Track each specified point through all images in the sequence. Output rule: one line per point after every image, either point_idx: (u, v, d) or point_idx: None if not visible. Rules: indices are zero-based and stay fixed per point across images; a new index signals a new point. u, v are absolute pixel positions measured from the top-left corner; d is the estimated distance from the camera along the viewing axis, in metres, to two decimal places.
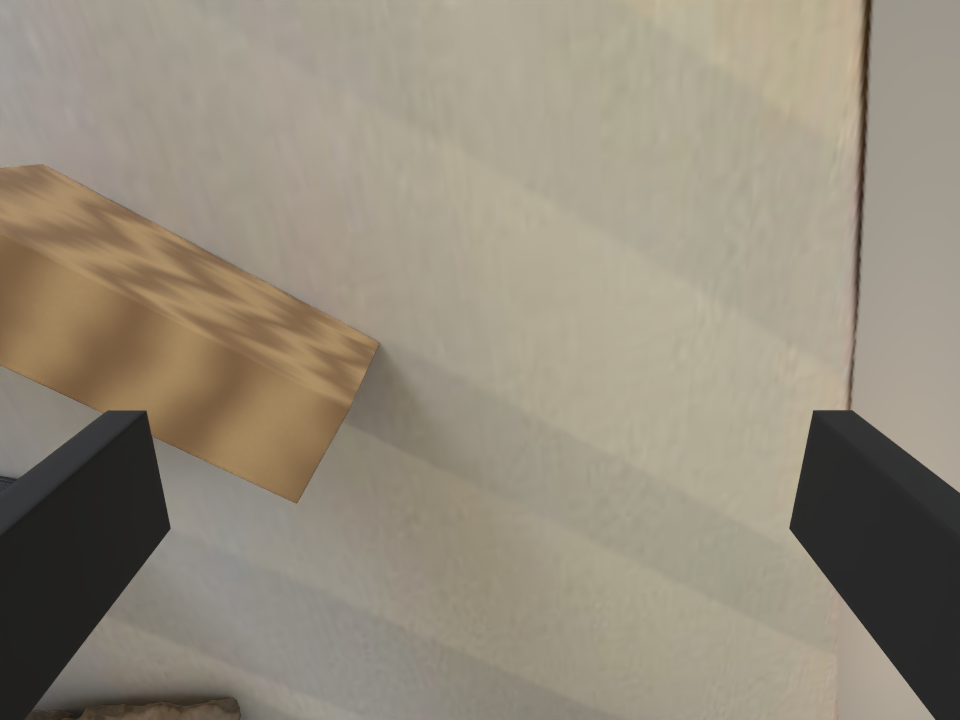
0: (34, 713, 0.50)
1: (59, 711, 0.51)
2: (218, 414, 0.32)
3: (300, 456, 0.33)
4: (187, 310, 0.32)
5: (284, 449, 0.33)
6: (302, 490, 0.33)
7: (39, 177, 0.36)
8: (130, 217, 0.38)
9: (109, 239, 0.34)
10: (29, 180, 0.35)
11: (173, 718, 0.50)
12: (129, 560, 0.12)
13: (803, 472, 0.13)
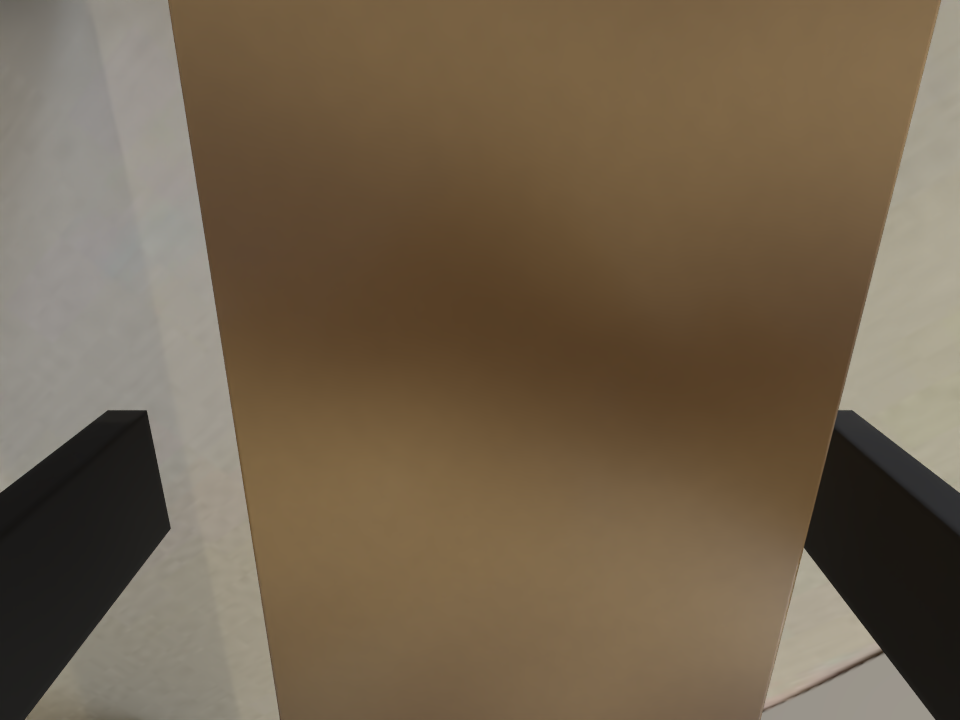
0: None
1: None
2: (497, 374, 0.07)
3: (480, 695, 0.08)
4: None
5: (478, 644, 0.08)
6: None
7: None
8: None
9: None
10: None
11: None
12: (129, 560, 0.12)
13: None
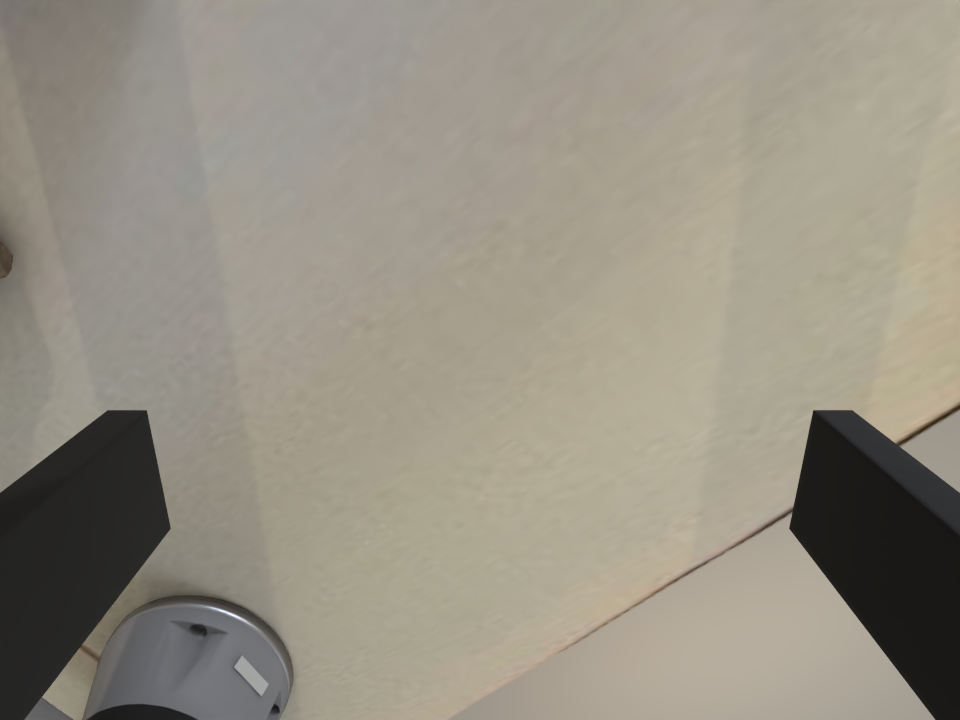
0: None
1: None
2: None
3: None
4: None
5: None
6: None
7: None
8: None
9: None
10: None
11: None
12: (129, 560, 0.12)
13: (803, 472, 0.13)
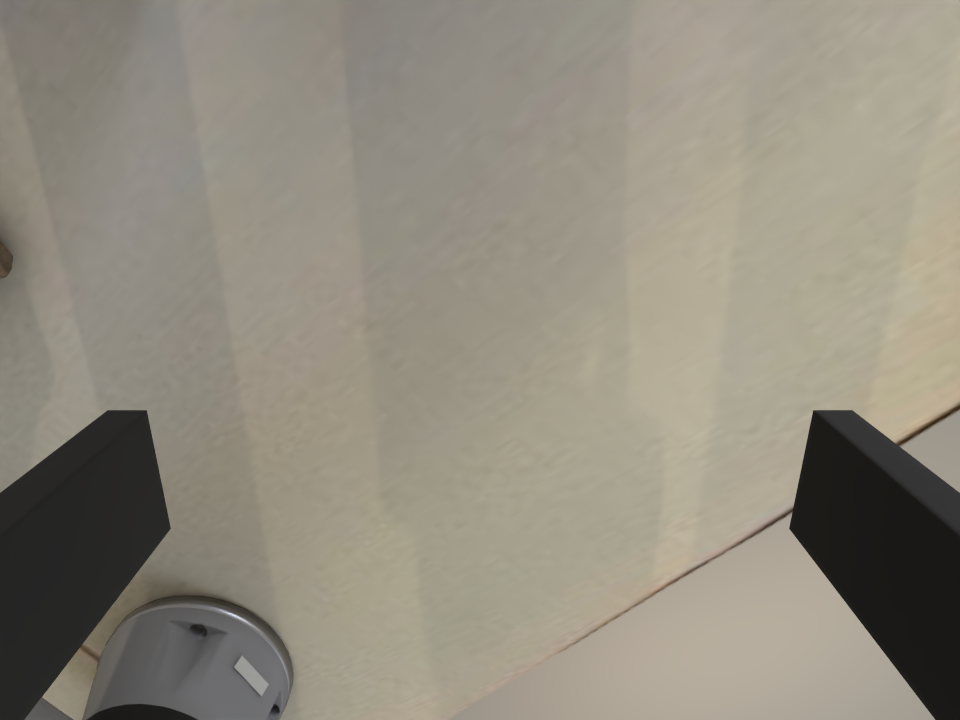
0: None
1: None
2: None
3: None
4: None
5: None
6: None
7: None
8: None
9: None
10: None
11: None
12: (129, 560, 0.12)
13: (803, 472, 0.13)
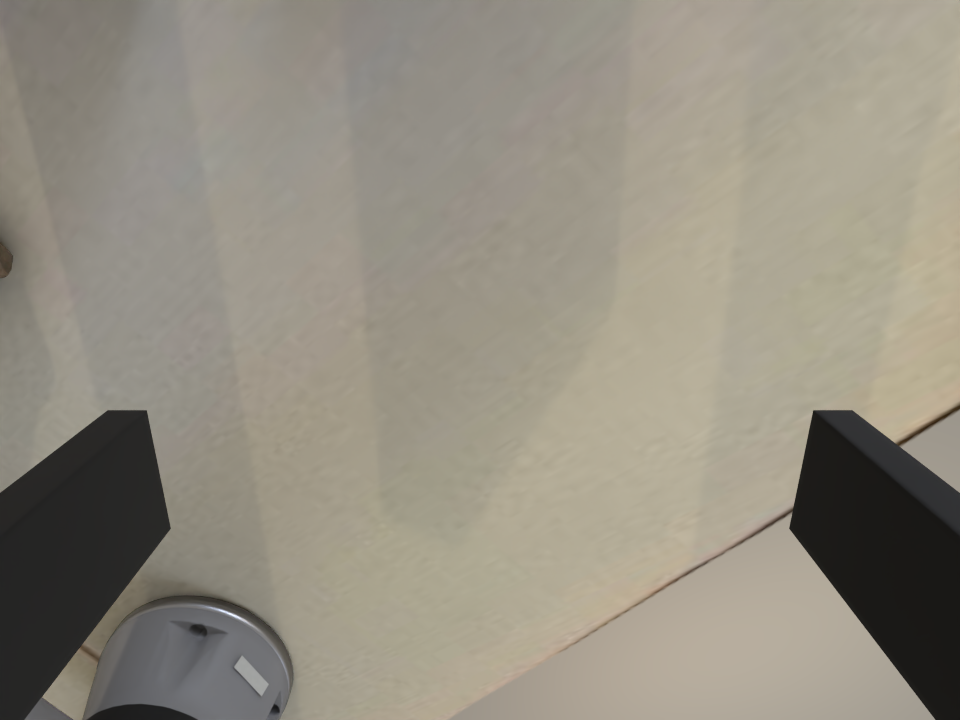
0: None
1: None
2: None
3: None
4: None
5: None
6: None
7: None
8: None
9: None
10: None
11: None
12: (129, 560, 0.12)
13: (803, 472, 0.13)
